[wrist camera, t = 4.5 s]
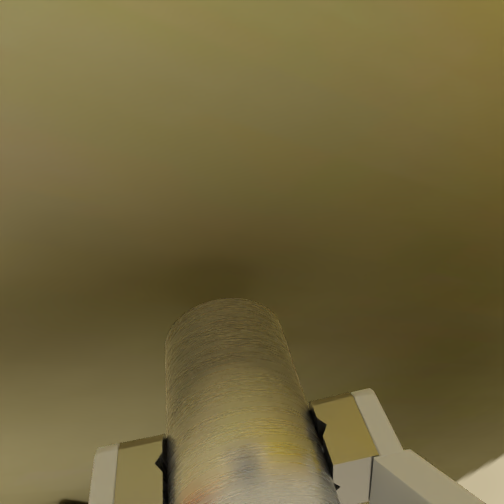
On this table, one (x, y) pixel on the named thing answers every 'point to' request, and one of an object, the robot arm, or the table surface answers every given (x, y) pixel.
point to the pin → (238, 412)
